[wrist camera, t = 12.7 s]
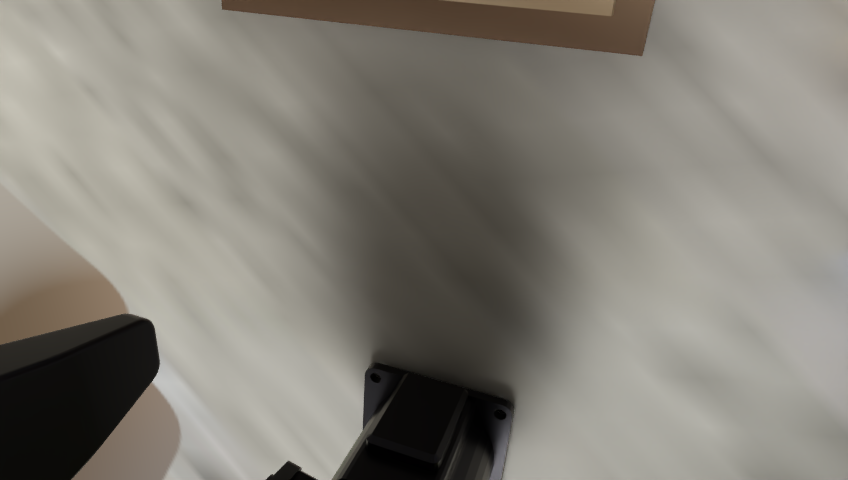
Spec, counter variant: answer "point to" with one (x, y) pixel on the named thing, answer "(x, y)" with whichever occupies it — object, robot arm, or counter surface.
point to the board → (486, 19)
